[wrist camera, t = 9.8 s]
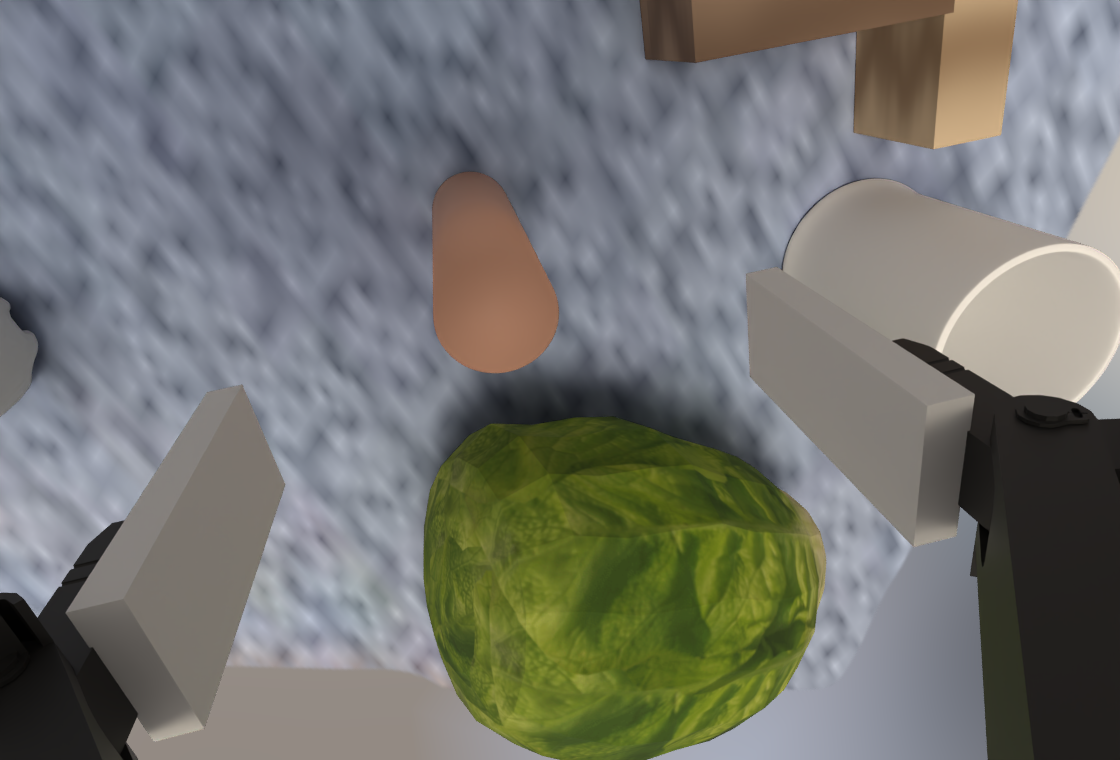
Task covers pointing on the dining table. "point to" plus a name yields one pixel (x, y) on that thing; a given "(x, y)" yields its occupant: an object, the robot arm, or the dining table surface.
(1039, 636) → the robot arm
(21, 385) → the bottle
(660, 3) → the block
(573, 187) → the dining table surface
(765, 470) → the dining table surface
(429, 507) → the lettuce
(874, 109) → the backstop
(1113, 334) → the mug
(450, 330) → the dowel
